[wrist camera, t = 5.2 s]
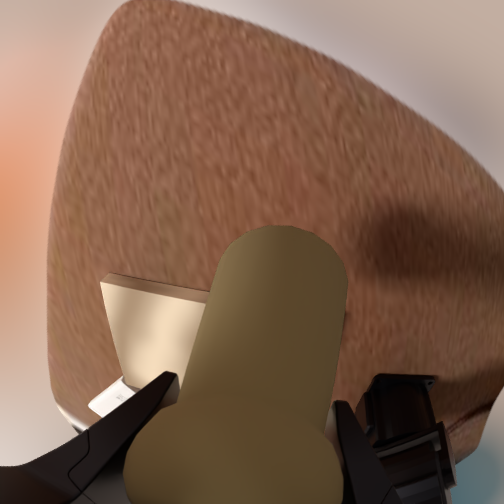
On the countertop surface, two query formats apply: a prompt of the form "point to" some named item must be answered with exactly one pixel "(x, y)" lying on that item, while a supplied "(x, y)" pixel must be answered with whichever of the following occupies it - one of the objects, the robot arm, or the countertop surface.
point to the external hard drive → (112, 397)
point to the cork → (253, 384)
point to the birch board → (151, 326)
